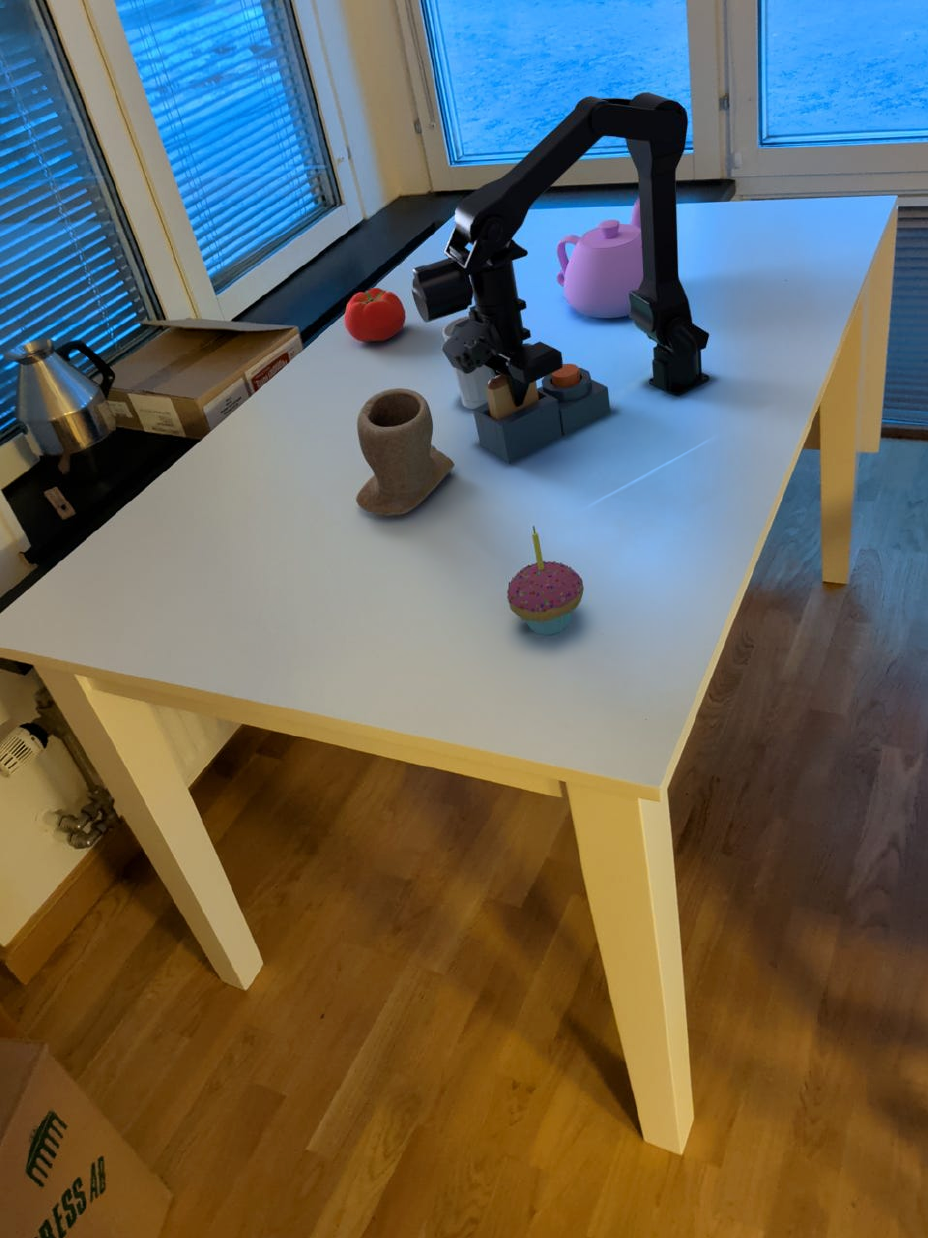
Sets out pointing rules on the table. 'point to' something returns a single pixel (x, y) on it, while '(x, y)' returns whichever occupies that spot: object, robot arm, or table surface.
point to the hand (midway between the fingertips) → (514, 402)
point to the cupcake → (545, 593)
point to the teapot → (603, 267)
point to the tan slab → (506, 397)
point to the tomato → (374, 315)
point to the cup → (470, 376)
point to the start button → (566, 376)
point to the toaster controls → (578, 401)
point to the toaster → (519, 428)
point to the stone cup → (398, 452)
